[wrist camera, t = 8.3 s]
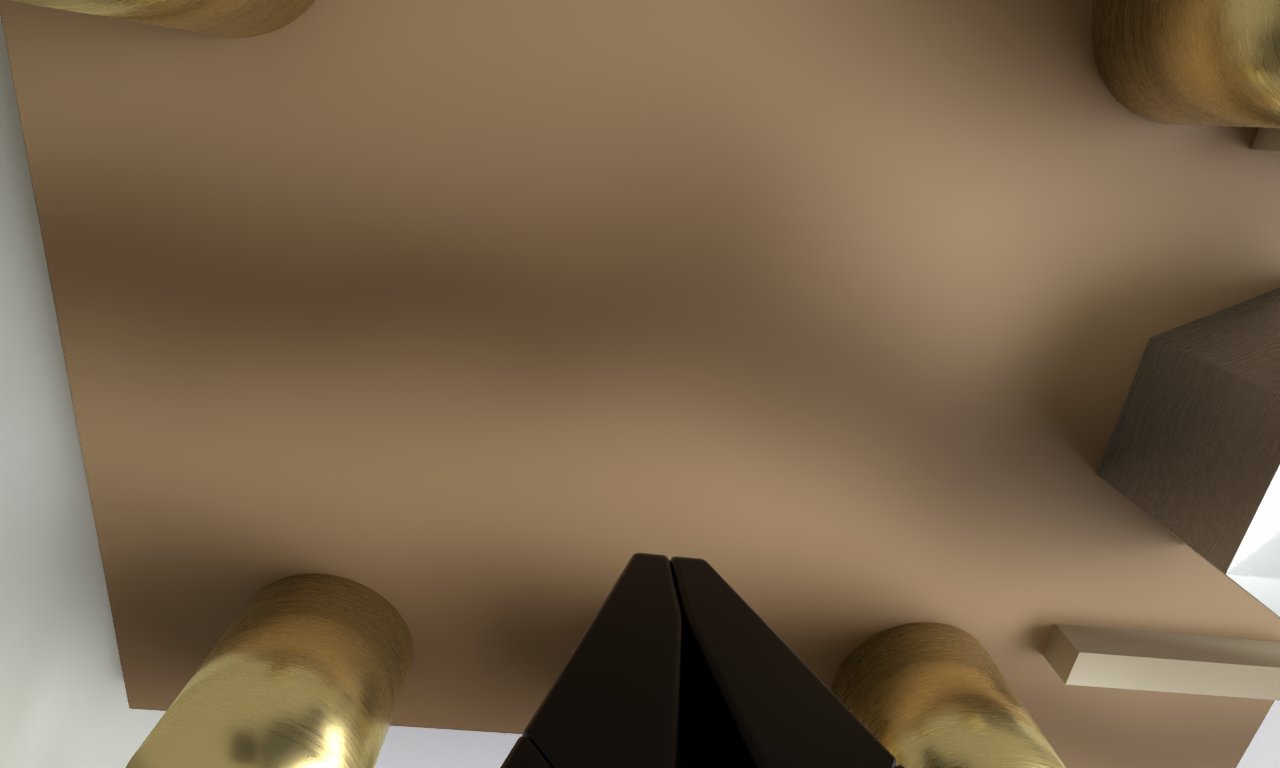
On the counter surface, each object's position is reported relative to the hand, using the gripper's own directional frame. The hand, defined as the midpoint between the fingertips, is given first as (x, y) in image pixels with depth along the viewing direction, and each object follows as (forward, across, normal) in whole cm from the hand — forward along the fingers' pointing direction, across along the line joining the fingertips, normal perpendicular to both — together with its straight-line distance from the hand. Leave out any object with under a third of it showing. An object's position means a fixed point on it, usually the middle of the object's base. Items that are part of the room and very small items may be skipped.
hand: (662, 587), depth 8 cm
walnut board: (+5, -2, -1) cm, 6 cm away
